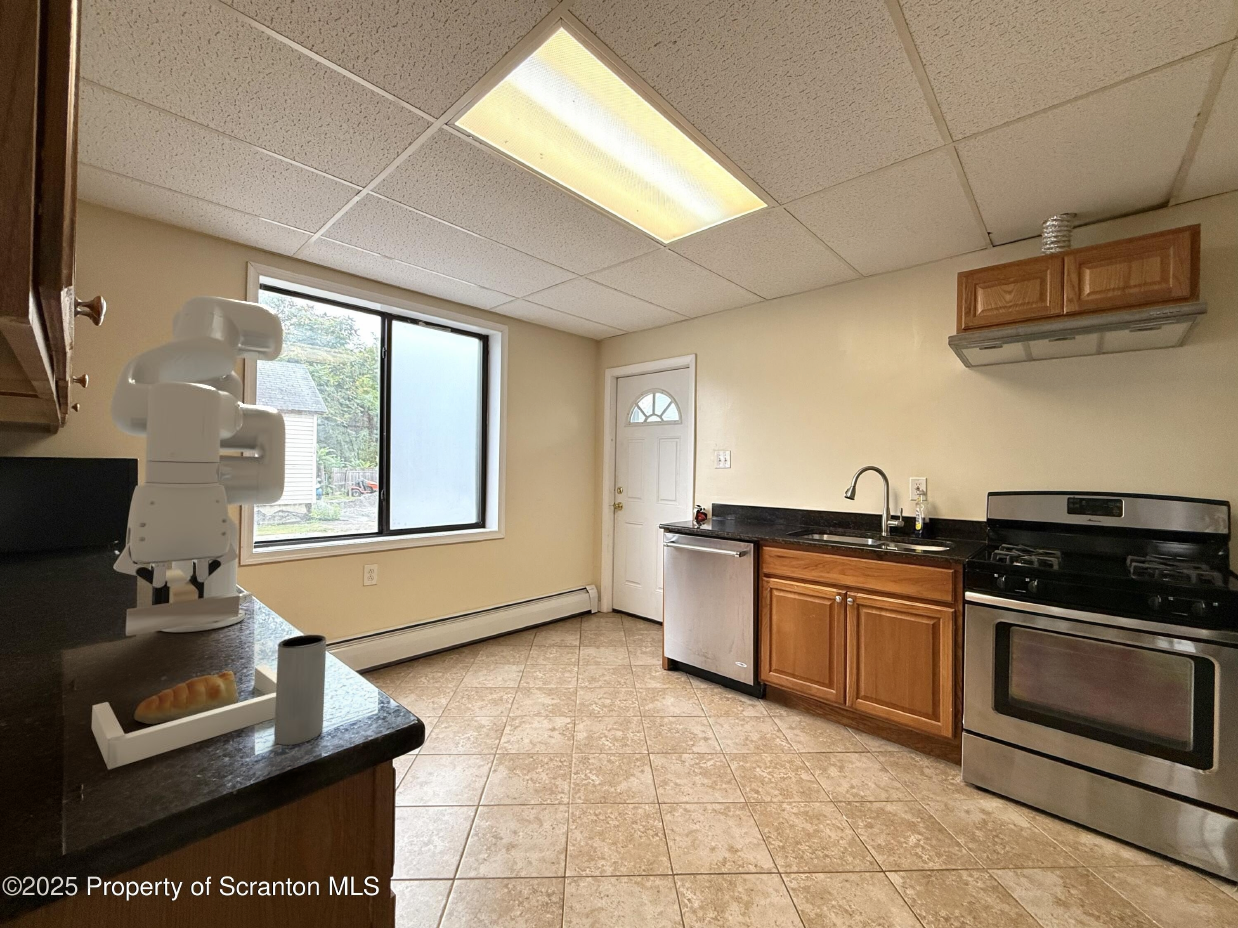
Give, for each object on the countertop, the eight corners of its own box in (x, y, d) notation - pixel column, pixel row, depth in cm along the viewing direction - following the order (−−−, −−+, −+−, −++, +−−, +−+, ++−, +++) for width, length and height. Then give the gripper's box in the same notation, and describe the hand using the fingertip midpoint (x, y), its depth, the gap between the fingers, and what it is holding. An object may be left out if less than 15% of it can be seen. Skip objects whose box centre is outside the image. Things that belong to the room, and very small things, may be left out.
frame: (91, 728, 56) (92, 705, 56) (264, 683, 69) (265, 664, 69) (108, 769, 49) (109, 743, 49) (299, 710, 61) (299, 689, 61)
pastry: (137, 735, 55) (139, 700, 55) (130, 716, 60) (132, 683, 60) (242, 707, 62) (243, 676, 62) (229, 691, 67) (230, 662, 67)
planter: (266, 736, 55) (270, 641, 55) (310, 720, 59) (314, 631, 59) (285, 750, 53) (289, 650, 53) (330, 732, 56) (334, 639, 57)
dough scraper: (111, 604, 68) (113, 575, 68) (214, 590, 77) (216, 564, 76) (126, 636, 61) (128, 603, 60) (238, 616, 69) (240, 588, 69)
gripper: (246, 474, 76) (241, 596, 76) (93, 473, 64) (87, 619, 64) (263, 477, 72) (258, 606, 72) (101, 476, 59) (95, 633, 59)
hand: (177, 611), depth 68 cm, fingers closed on dough scraper, 2 cm apart
